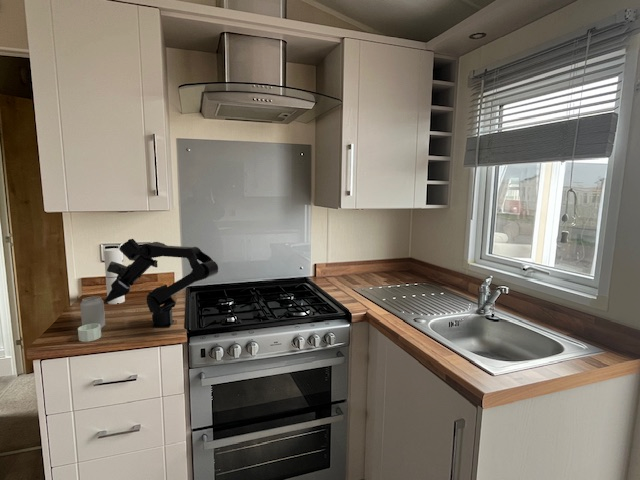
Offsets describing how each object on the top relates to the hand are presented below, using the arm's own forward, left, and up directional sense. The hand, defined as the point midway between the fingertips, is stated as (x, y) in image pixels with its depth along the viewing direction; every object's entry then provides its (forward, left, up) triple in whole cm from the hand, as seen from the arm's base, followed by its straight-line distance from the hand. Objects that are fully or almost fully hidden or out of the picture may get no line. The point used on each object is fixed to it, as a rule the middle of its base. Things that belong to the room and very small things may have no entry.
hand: (107, 298), depth 139 cm
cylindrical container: (+11, -31, -12) cm, 35 cm away
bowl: (+2, +11, -11) cm, 16 cm away
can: (+5, +2, -12) cm, 13 cm away
